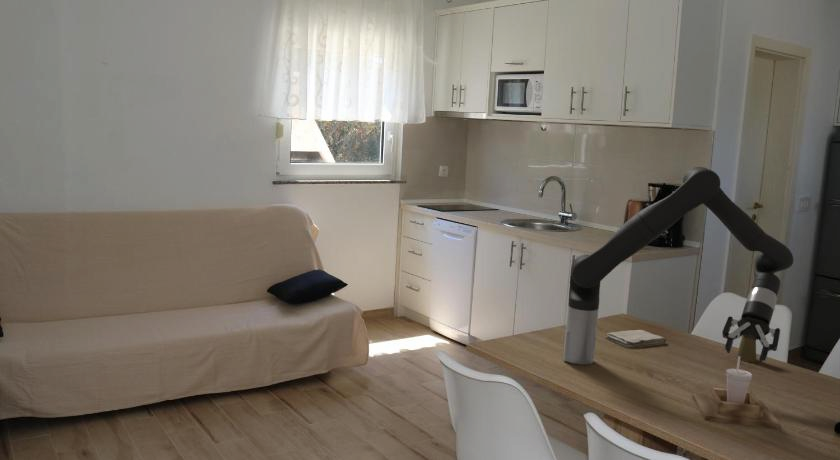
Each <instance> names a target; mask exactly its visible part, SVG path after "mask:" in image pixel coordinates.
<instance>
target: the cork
mask: <svg viewBox="0 0 840 460" xmlns="http://www.w3.org/2000/svg"><path fill="white" fill-rule="evenodd" d="M740 338H741V339H740V342H739V346H738V350H737V353H736V356H735V358H736V359H737V360H738V356H740V362H741V361H742V362H747V363H756V362H757V340H753V339H751V338H745V337H744V336H742V337H740Z"/></svg>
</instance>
